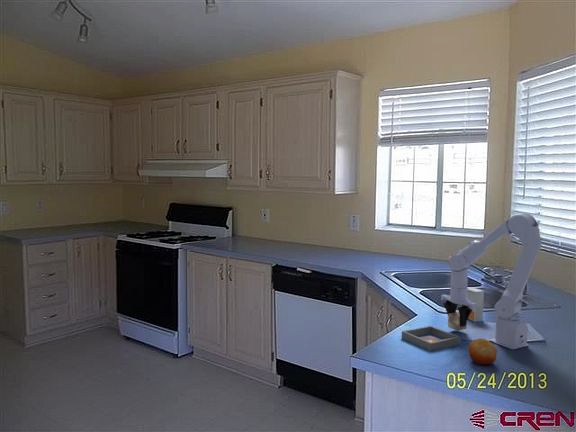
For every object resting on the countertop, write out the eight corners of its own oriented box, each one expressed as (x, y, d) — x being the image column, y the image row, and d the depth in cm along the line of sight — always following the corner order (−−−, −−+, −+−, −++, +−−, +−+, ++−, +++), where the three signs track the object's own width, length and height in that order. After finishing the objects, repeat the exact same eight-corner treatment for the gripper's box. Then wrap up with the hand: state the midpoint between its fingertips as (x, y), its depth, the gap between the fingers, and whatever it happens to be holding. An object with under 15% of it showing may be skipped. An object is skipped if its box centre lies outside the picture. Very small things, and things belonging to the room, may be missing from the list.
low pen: (460, 344, 162) (460, 337, 162) (430, 351, 156) (430, 343, 155) (430, 332, 174) (430, 325, 174) (401, 338, 167) (401, 331, 167)
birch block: (466, 328, 174) (467, 315, 174) (457, 330, 172) (458, 316, 171) (456, 325, 178) (457, 312, 177) (447, 327, 176) (448, 313, 175)
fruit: (486, 350, 152) (493, 334, 148) (495, 372, 146) (503, 355, 141) (461, 351, 152) (467, 334, 147) (469, 372, 146) (475, 355, 141)
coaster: (445, 342, 163) (445, 341, 163) (430, 346, 160) (430, 345, 160) (430, 336, 169) (430, 335, 169) (415, 339, 166) (415, 338, 166)
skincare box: (463, 317, 193) (465, 288, 192) (472, 316, 194) (473, 287, 193) (474, 322, 187) (475, 291, 186) (483, 321, 188) (484, 290, 187)
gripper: (483, 290, 169) (481, 328, 170) (451, 282, 182) (449, 317, 183) (469, 292, 166) (467, 331, 167) (437, 283, 178) (436, 319, 180)
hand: (457, 324), depth 175 cm, fingers closed on birch block, 4 cm apart
